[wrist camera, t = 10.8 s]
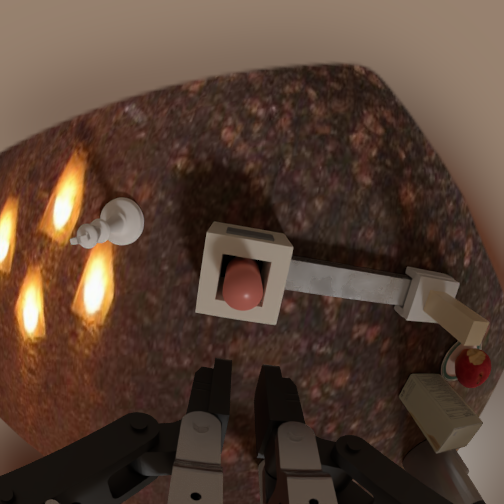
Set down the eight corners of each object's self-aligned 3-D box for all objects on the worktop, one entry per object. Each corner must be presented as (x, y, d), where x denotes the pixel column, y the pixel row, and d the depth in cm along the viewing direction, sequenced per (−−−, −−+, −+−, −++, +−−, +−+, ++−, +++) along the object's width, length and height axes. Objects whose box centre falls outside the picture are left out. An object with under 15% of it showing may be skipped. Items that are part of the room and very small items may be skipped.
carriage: (444, 273, 32) (504, 309, 21) (431, 313, 33) (484, 358, 22) (407, 266, 31) (466, 304, 20) (393, 309, 33) (444, 359, 22)
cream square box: (284, 231, 31) (294, 244, 25) (270, 298, 32) (275, 325, 26) (214, 219, 30) (206, 229, 24) (203, 287, 32) (195, 312, 26)
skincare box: (397, 396, 37) (433, 455, 25) (410, 372, 36) (452, 429, 24) (429, 396, 37) (466, 447, 25) (442, 373, 36) (484, 423, 24)
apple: (430, 368, 36) (452, 393, 29) (466, 324, 34) (493, 345, 28) (453, 385, 37) (473, 409, 31) (485, 346, 36) (509, 366, 29)
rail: (449, 274, 32) (458, 279, 30) (437, 312, 33) (445, 318, 32) (286, 244, 31) (289, 248, 29) (276, 290, 32) (278, 298, 30)
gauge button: (262, 258, 28) (266, 276, 23) (256, 290, 28) (258, 313, 23) (228, 253, 27) (225, 269, 22) (223, 284, 28) (219, 307, 23)
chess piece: (149, 239, 30) (110, 267, 21) (108, 248, 30) (60, 278, 21) (138, 192, 29) (93, 200, 20) (97, 203, 29) (43, 217, 20)
